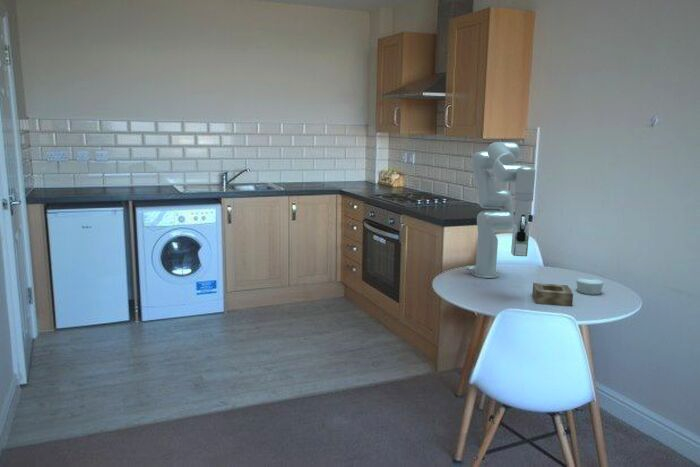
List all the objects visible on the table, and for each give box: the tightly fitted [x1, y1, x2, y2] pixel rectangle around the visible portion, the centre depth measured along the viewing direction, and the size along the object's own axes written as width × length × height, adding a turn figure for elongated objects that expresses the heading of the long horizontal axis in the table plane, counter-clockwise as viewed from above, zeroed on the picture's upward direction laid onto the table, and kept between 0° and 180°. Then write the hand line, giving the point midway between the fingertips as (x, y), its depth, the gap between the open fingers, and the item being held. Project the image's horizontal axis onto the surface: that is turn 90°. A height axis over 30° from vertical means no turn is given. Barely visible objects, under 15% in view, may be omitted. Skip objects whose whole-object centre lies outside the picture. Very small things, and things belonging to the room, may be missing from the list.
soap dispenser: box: [510, 220, 531, 257], centre depth 244 cm, size 6×6×14 cm
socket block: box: [532, 282, 574, 307], centre depth 243 cm, size 14×14×5 cm
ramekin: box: [575, 277, 604, 296], centre depth 257 cm, size 11×11×5 cm
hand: (520, 239), depth 244 cm, fingers closed on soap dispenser, 6 cm apart
